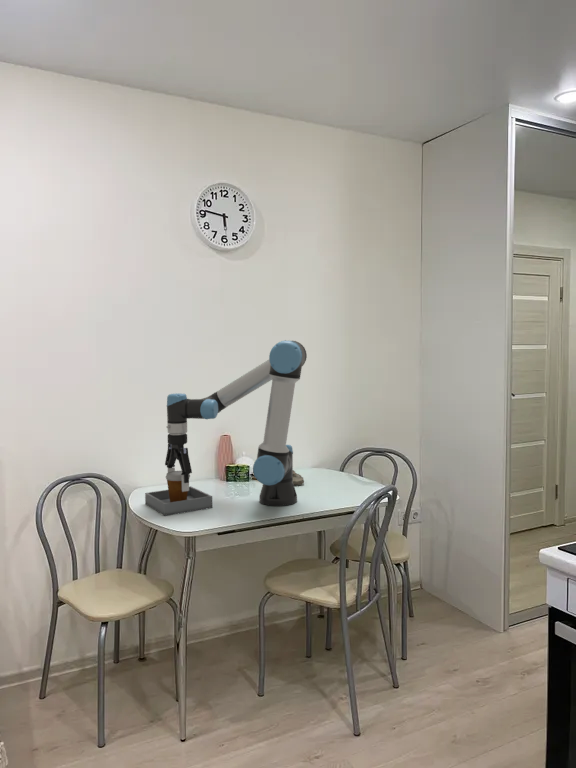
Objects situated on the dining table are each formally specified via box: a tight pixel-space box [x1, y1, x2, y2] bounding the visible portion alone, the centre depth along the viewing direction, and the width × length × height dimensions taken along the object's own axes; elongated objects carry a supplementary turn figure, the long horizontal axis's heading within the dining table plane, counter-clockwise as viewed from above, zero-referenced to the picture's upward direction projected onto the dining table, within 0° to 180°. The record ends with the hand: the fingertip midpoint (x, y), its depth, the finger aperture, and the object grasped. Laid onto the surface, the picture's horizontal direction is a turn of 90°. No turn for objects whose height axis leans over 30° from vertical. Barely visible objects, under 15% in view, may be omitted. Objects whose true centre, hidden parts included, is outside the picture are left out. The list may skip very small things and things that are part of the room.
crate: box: [144, 485, 213, 517], centre depth 240 cm, size 20×20×4 cm
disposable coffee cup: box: [165, 470, 191, 502], centre depth 239 cm, size 10×10×12 cm
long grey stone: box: [293, 470, 305, 486], centre depth 285 cm, size 35×5×10 cm
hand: (178, 487), depth 239 cm, fingers open, 13 cm apart
